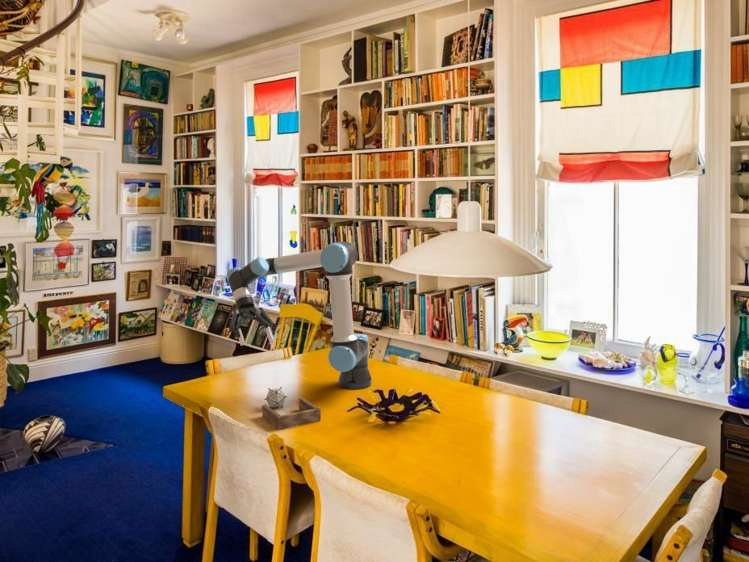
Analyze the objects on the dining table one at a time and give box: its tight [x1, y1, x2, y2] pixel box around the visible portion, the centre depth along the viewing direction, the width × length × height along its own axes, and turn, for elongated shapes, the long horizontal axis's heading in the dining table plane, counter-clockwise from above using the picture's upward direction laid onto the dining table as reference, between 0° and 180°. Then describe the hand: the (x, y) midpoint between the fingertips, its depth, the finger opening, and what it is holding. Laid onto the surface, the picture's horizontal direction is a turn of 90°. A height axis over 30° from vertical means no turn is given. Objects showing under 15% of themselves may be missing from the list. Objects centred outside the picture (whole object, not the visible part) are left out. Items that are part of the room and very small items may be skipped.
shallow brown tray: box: [261, 397, 322, 430], centre depth 225 cm, size 17×15×4 cm
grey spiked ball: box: [263, 386, 288, 409], centre depth 236 cm, size 9×8×10 cm
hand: (257, 342), depth 250 cm, fingers open, 13 cm apart
